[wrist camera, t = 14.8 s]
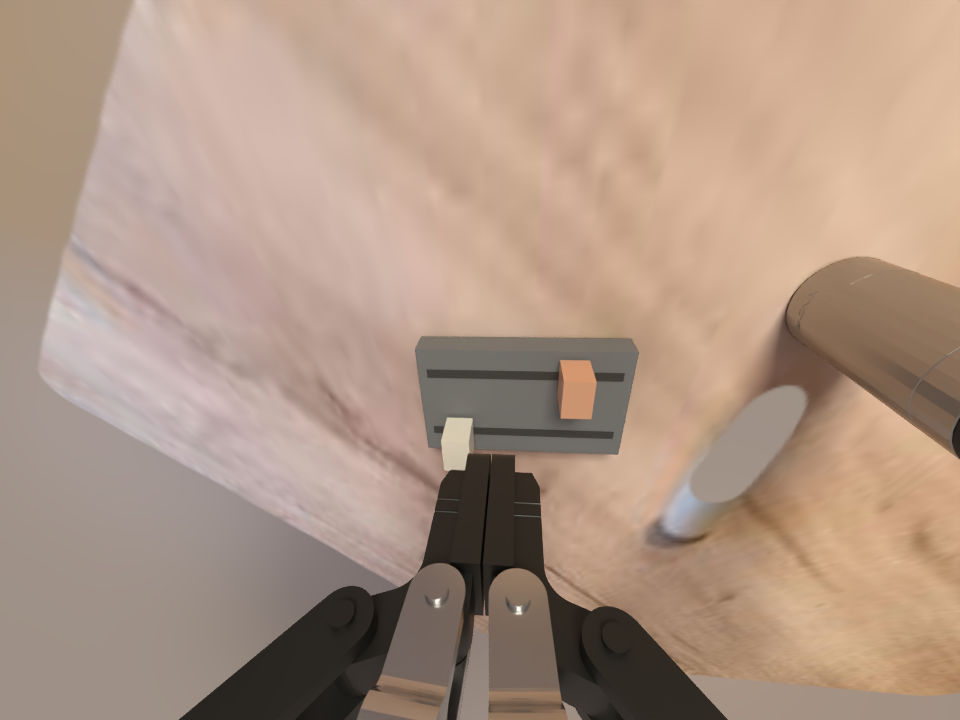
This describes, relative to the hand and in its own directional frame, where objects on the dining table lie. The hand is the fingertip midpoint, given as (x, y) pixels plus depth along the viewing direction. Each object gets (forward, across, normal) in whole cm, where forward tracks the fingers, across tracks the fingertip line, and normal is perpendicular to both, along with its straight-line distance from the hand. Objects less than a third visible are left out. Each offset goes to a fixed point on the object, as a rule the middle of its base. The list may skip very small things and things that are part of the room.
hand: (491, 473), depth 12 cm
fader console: (+29, -2, +17) cm, 34 cm away
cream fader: (+26, +6, +21) cm, 34 cm away
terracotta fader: (+26, -7, +13) cm, 29 cm away
